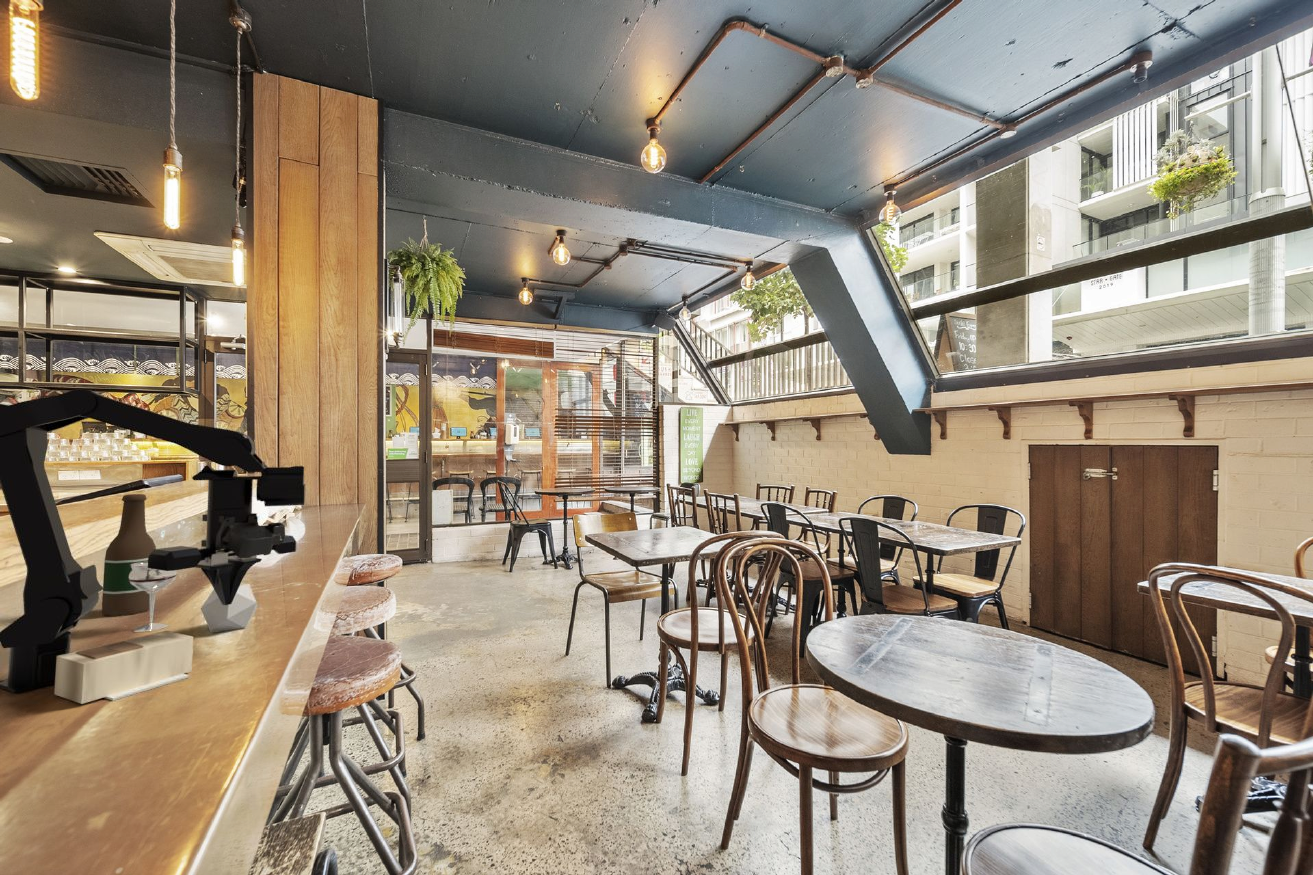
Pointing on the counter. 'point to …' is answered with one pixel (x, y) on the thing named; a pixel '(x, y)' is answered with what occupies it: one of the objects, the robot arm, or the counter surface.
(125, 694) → the mat
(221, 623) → the die
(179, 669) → the birch block
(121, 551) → the beer bottle
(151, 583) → the wineglass
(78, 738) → the counter surface
